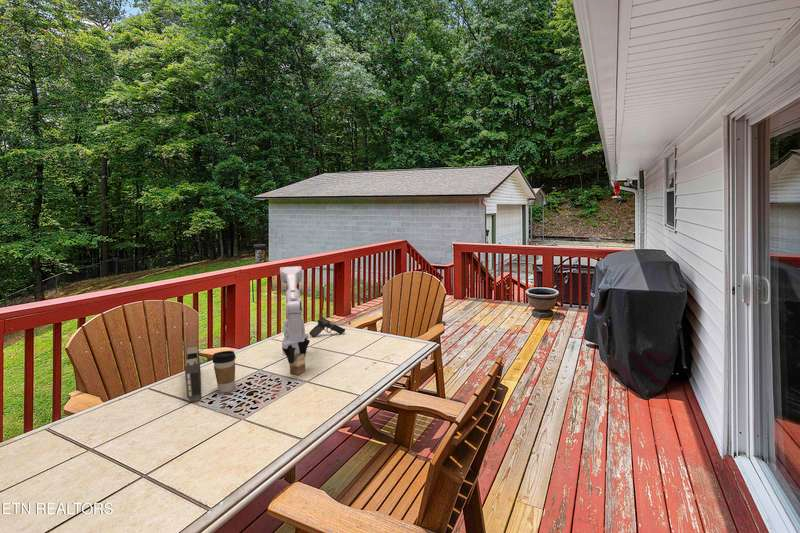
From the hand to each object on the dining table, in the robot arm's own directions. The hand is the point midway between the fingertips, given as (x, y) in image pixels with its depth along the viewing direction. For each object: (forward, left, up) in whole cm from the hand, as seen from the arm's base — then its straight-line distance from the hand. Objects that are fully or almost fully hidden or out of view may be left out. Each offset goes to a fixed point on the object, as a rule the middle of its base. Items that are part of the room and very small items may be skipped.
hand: (297, 359), depth 173 cm
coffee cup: (-17, -23, -7) cm, 29 cm away
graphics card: (-32, -25, -7) cm, 41 cm away
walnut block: (0, 0, -6) cm, 6 cm away
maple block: (0, 0, -2) cm, 2 cm away
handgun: (-20, +51, -7) cm, 55 cm away
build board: (-3, 0, -7) cm, 7 cm away
